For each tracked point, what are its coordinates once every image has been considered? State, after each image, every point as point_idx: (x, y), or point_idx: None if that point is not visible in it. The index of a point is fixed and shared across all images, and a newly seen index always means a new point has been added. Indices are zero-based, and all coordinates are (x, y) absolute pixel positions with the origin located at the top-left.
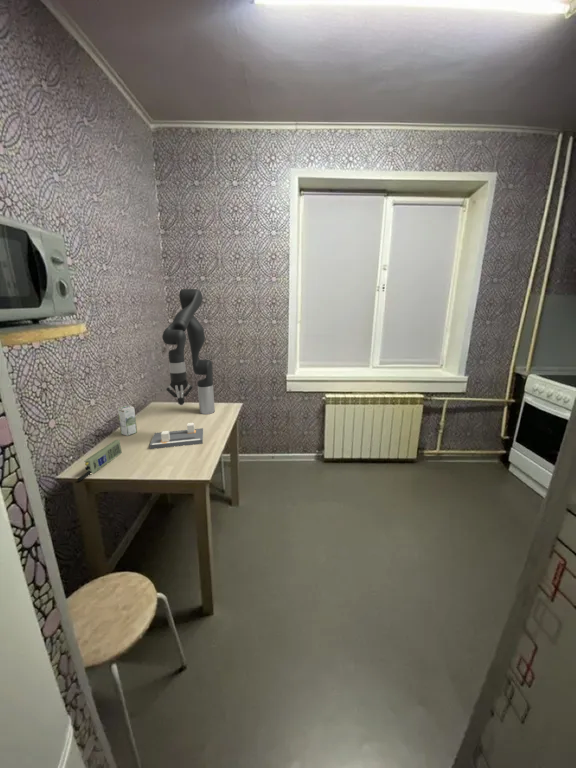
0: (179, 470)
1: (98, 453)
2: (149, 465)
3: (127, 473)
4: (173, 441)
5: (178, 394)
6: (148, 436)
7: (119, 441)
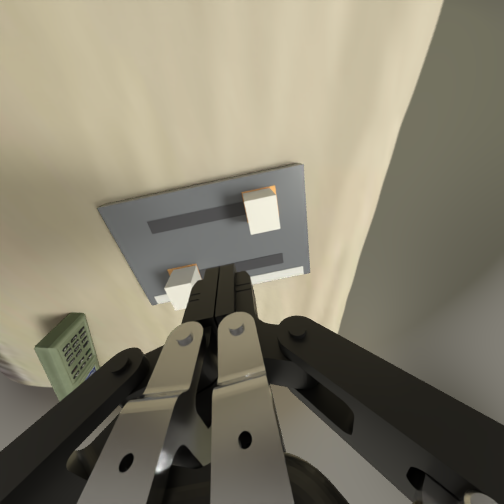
0: None
1: None
2: None
3: None
4: None
5: (204, 419)
6: (75, 201)
7: (56, 347)
